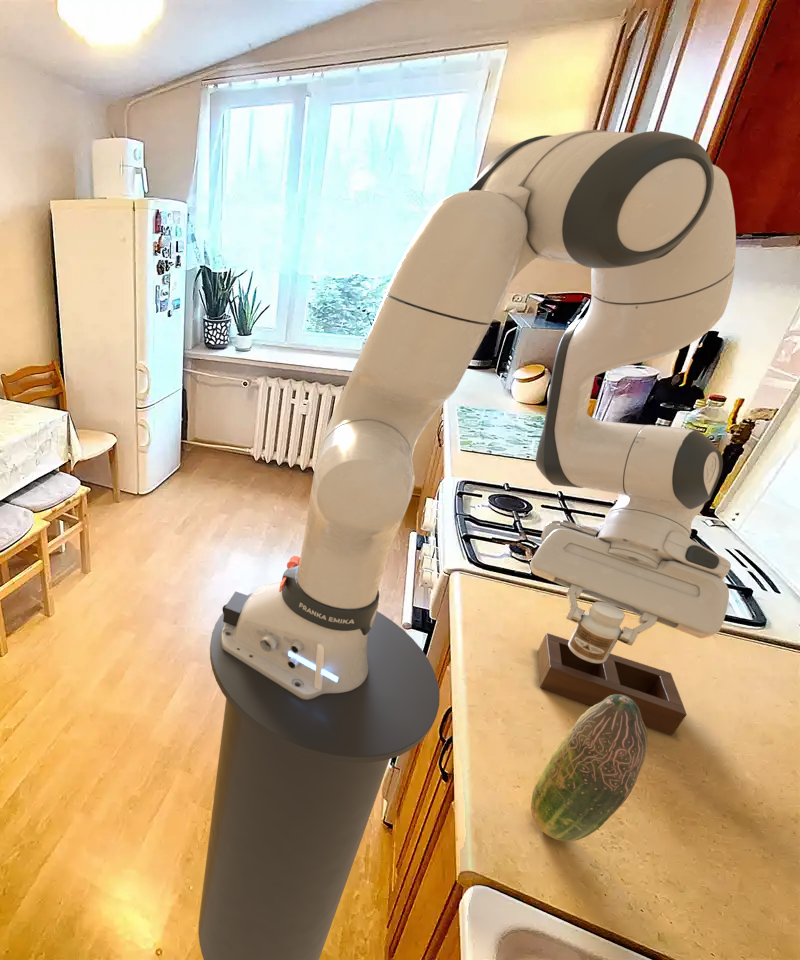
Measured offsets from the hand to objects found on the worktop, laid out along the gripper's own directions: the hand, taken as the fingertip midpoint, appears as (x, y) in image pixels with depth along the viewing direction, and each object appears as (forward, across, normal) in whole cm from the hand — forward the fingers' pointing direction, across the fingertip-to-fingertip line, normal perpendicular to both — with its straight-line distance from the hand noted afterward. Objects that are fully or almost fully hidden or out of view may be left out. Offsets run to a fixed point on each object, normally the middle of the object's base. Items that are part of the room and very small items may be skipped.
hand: (598, 631), depth 70 cm
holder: (+6, +3, +8) cm, 10 cm away
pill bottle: (+3, 0, +4) cm, 5 cm away
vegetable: (+25, +3, -11) cm, 28 cm away
